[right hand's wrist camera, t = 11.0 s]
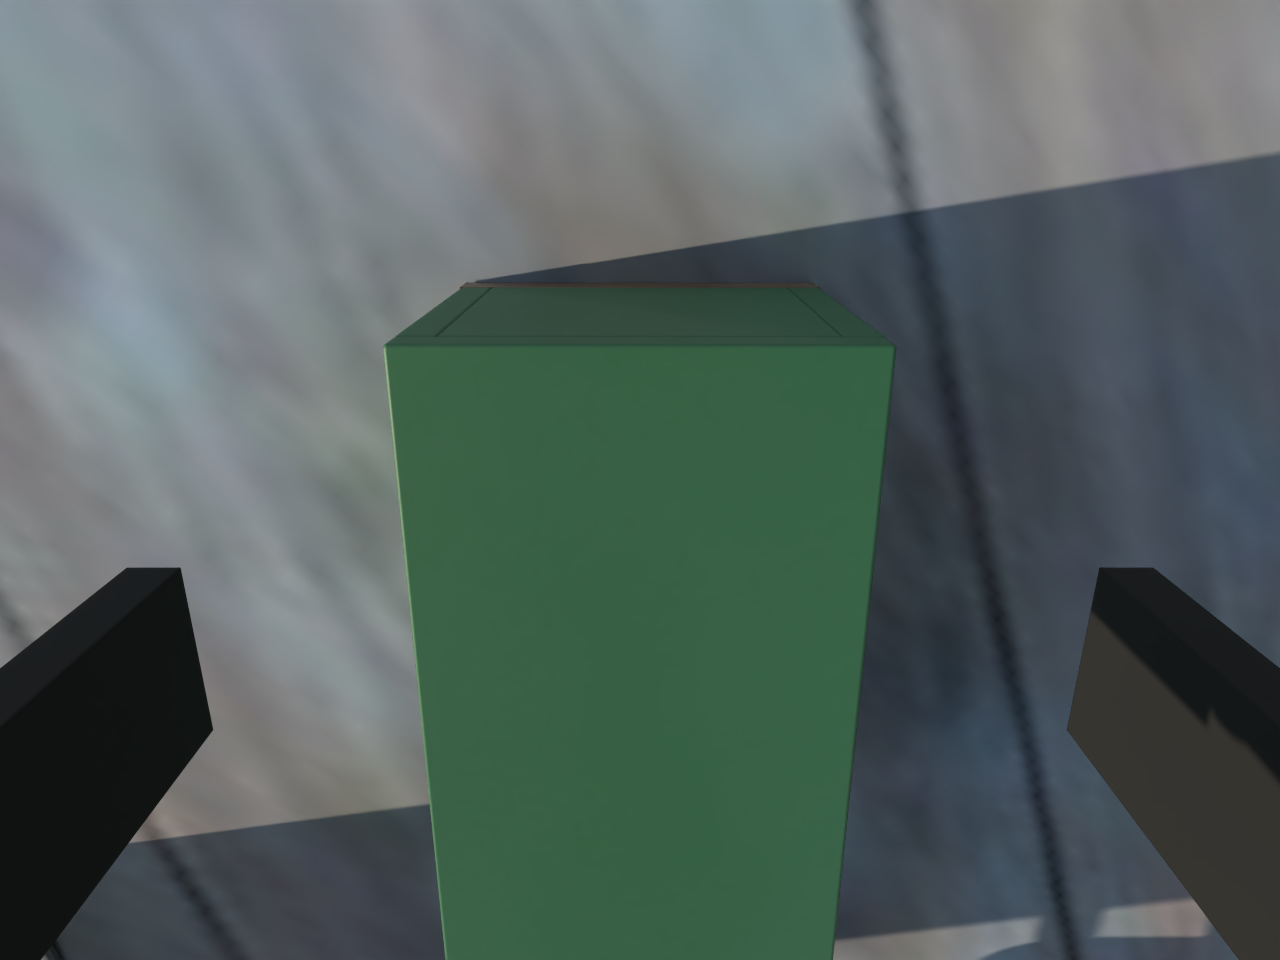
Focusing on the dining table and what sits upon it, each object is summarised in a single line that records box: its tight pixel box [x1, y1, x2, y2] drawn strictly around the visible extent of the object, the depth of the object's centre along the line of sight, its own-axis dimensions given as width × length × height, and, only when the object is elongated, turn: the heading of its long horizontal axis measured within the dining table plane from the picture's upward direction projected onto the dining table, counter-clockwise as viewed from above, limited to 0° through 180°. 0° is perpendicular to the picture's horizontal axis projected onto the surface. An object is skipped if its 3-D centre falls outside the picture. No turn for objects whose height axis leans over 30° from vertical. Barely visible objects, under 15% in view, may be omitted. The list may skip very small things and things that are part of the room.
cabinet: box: [383, 283, 896, 960], centre depth 25 cm, size 18×10×9 cm, turn 0°
